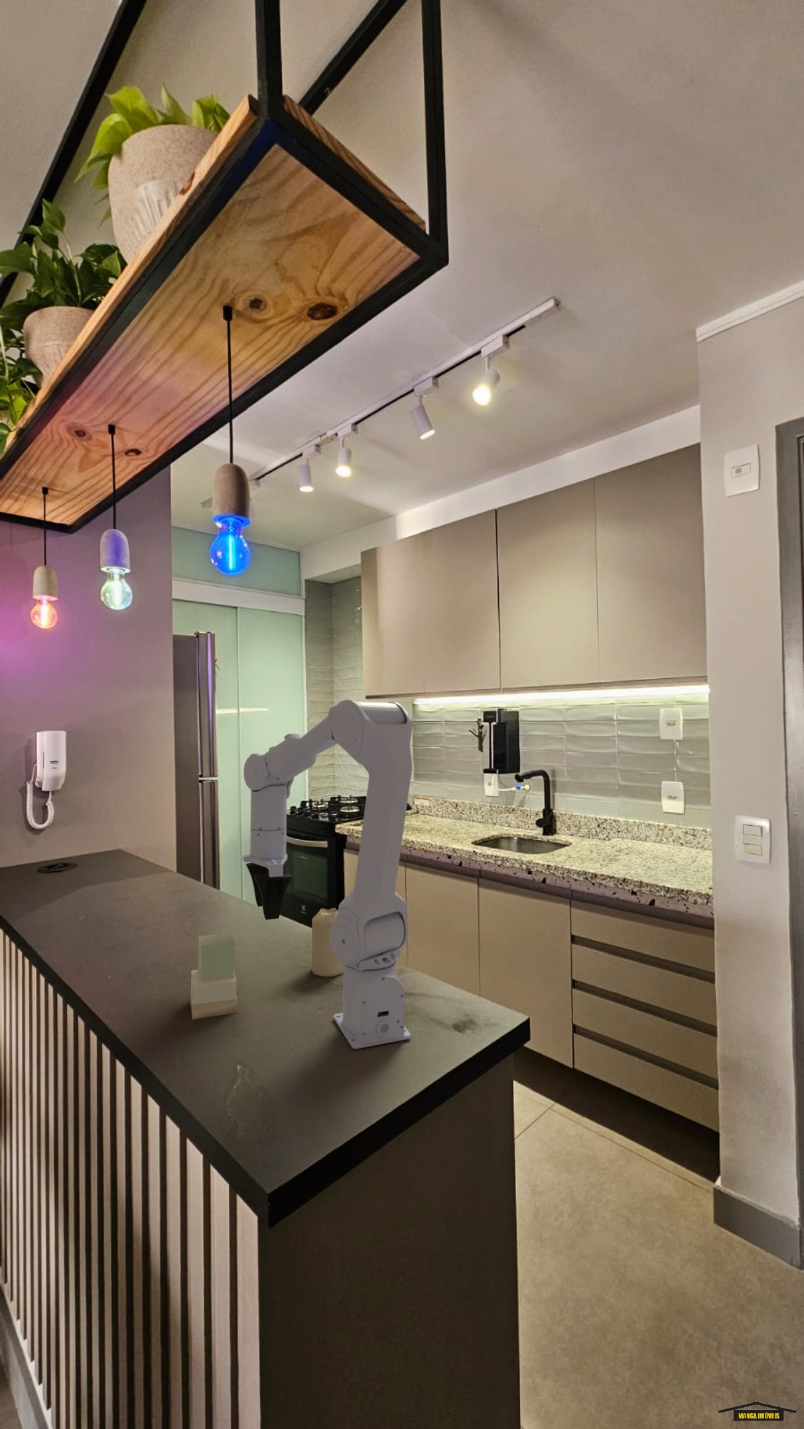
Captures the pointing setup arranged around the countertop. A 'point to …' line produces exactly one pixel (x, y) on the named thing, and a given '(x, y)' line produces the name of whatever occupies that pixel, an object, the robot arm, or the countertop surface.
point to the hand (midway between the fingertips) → (267, 912)
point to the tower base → (214, 1008)
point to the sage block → (216, 957)
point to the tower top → (212, 989)
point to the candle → (324, 945)
